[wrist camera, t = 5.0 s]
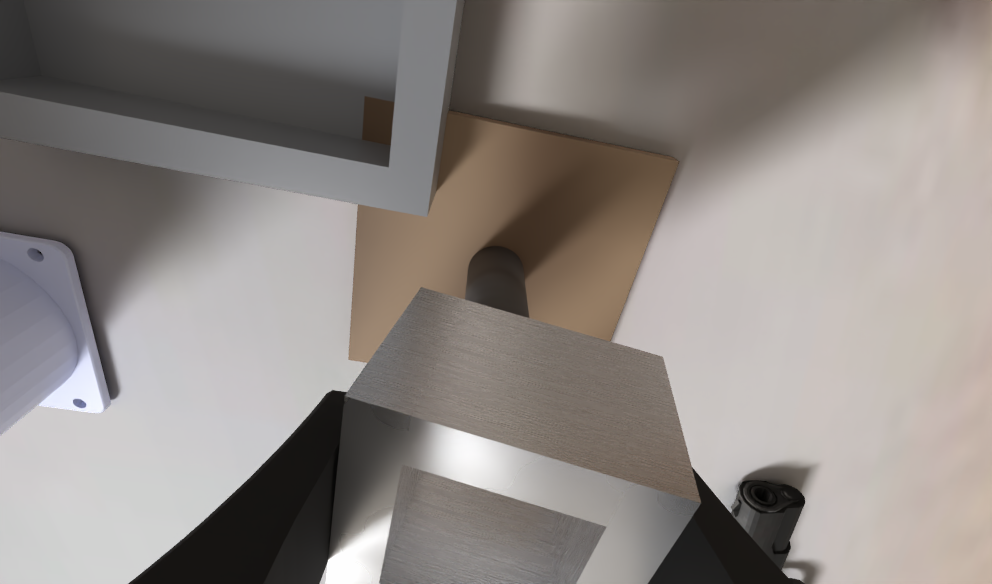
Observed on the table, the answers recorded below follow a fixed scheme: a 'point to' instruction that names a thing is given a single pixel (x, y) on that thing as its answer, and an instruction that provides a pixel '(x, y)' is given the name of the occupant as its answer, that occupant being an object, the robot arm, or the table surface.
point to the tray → (239, 89)
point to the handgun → (769, 516)
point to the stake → (510, 228)
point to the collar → (506, 456)
